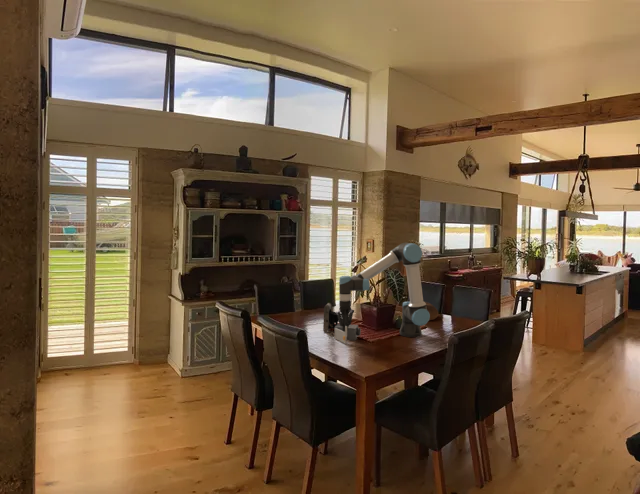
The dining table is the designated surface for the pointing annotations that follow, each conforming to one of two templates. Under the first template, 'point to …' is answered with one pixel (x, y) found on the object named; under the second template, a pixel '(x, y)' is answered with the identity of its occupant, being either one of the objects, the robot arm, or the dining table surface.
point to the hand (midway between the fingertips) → (345, 336)
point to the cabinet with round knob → (351, 331)
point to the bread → (431, 311)
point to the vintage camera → (329, 318)
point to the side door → (340, 335)
